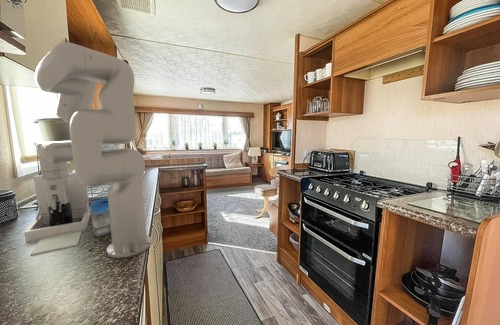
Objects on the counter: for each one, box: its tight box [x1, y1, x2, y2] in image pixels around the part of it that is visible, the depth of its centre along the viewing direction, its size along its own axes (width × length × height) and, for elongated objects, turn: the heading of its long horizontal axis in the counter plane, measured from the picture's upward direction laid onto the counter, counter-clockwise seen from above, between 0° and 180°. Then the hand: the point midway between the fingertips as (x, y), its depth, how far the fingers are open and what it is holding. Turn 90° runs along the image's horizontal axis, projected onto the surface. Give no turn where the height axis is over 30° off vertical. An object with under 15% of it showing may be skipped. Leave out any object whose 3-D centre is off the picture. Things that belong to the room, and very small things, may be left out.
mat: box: [30, 231, 83, 257], centre depth 71 cm, size 11×11×1 cm
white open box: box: [24, 172, 91, 243], centre depth 82 cm, size 18×16×20 cm
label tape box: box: [89, 197, 111, 238], centre depth 78 cm, size 9×4×12 cm, turn 143°
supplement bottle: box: [48, 198, 74, 227], centre depth 82 cm, size 7×7×12 cm
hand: (61, 217), depth 82 cm, fingers open, 9 cm apart
